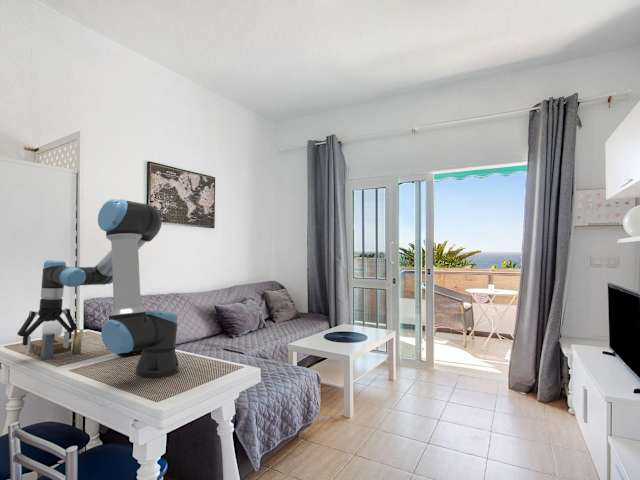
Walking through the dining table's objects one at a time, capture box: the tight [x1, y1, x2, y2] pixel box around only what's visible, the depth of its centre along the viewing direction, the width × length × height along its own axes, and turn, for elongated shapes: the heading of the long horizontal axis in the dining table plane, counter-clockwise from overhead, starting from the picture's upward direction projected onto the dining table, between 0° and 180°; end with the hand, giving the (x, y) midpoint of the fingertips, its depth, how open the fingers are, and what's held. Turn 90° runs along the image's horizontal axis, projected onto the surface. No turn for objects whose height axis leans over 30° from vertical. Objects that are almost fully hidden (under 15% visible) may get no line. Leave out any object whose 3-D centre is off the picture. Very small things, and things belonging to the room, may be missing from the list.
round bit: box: [71, 328, 84, 355], centre depth 163 cm, size 3×3×10 cm
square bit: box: [39, 333, 55, 361], centre depth 153 cm, size 3×3×10 cm
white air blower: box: [41, 320, 63, 338], centre depth 179 cm, size 8×8×18 cm
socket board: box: [29, 337, 73, 357], centre depth 164 cm, size 12×12×4 cm
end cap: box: [116, 349, 143, 357], centre depth 166 cm, size 10×7×7 cm
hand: (46, 350), depth 153 cm, fingers open, 13 cm apart
